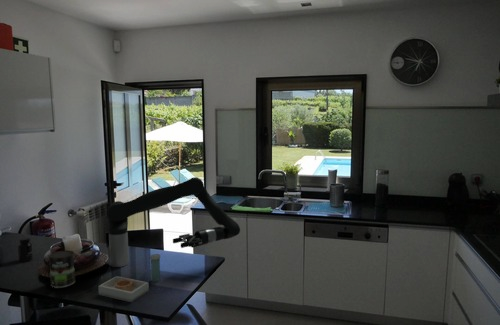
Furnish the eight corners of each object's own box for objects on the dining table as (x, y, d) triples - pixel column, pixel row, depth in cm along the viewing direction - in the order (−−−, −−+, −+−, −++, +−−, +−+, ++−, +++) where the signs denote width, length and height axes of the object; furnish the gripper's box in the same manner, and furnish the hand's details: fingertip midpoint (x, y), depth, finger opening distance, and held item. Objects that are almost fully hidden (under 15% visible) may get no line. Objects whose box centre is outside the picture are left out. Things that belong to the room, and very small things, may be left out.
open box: (98, 294, 156) (98, 284, 156) (116, 284, 166) (116, 274, 166) (132, 302, 149) (131, 292, 149) (148, 291, 160) (148, 281, 159)
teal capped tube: (148, 281, 169) (147, 256, 168) (154, 277, 174) (154, 253, 173) (156, 283, 168) (156, 258, 166) (163, 278, 172) (162, 254, 171)
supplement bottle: (32, 261, 193) (30, 240, 192) (17, 263, 191) (15, 241, 190) (34, 257, 200) (32, 236, 198) (20, 258, 197) (18, 237, 196)
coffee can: (73, 286, 164) (71, 256, 162) (48, 289, 161) (46, 259, 159) (77, 277, 174) (75, 249, 172) (53, 279, 171) (52, 251, 169)
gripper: (198, 226, 191) (170, 232, 181) (212, 232, 180) (183, 239, 170) (198, 240, 192) (170, 247, 182) (212, 247, 181) (184, 254, 171)
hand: (176, 243), depth 176 cm, fingers open, 8 cm apart
